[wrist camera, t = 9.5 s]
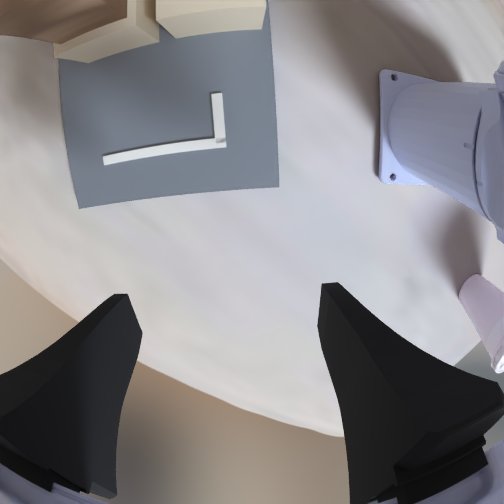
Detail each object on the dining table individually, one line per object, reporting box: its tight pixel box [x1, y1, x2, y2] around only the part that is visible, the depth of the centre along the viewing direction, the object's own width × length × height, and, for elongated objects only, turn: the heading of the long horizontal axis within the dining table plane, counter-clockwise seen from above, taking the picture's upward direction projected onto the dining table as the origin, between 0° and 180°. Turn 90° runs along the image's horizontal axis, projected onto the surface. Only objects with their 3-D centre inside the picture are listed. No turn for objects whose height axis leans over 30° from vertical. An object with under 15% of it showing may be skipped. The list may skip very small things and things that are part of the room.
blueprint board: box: [53, 0, 279, 209], centre depth 12 cm, size 14×16×5 cm
